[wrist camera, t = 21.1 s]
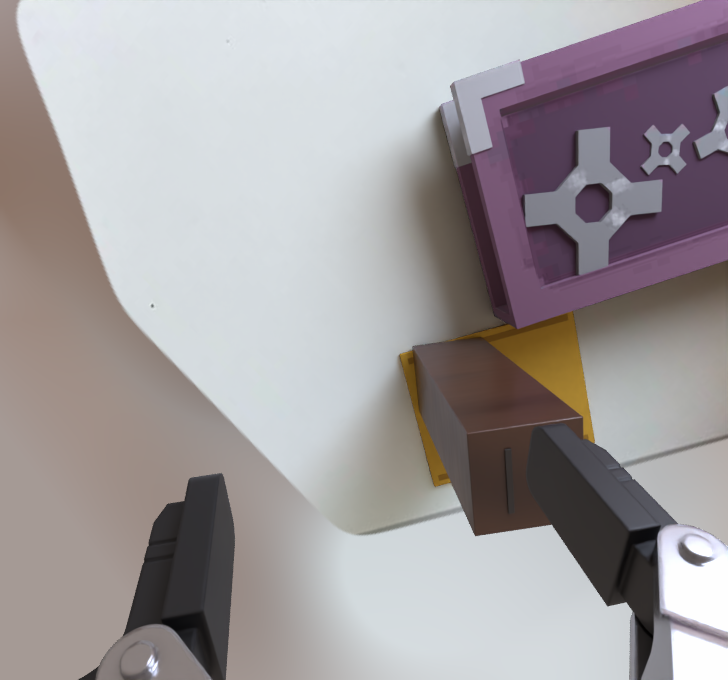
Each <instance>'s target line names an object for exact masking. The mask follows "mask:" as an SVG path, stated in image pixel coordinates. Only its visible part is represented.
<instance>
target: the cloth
mask: <svg viewBox="0 0 728 680" xmlns="http://www.w3.org/2000/svg"><path fill="white" fill-rule="evenodd" d="M475 337H482V338H483V339H485V340H486V341H487V342H489V343H490V344H491V345H492V346H494V347H495V348H496V349H497V350H499V351H500V352H501V353H503V354H504V355H505V356H506V357H508V358H509V359H510V360H511V361H513V362H514V363H515V364H516V365H518V366H519V367H520V368H522V369H523V370H524V371H525V372H527V373H528V374H529V375H530V376H532V377H533V378H534V379H536V380H537V381H538V382H539V383H541V384H542V385H543V386H544V387H546V388H547V389H548V390H550V391H551V392H552V393H553V394H555V395H556V396H557V397H558V398H560V399H561V400H562V401H564V402H565V403H566V404H567V405H569V406H570V407H571V408H572V409H574V410H575V411H576V412H577V413H579V414H580V415H581V416H583V437H584V439H587V440H589V441H591V442H593V443H595V440H594V434H593V428H592V422H591V416H590V410H589V404H588V398H587V392H586V386H585V380H584V374H583V368H582V362H581V356H580V350H579V344H578V338H577V332H576V326H575V320H574V314H573V311H571V312H568V313H565V314H562V315H559V316H556V317H552V318H549V319H546V320H543V321H540V322H537V323H534V324H531V325H528V326H525V327H522V328H519V329H516V328H515V327H513V326H511V325H509V324H506V325H502V326H499V327H495V328H491V329H488V330H484V331H481V332H477V333H474V334H470V335H466V336H463V337H459V338H456V339H452V340H449V341H454V340H461V339H468V338H475ZM445 342H446V341H445ZM400 358H401V362H402V366H403V370H404V374H405V377H406V381H407V385H408V389H409V392H410V396H411V400H412V404H413V408H414V411H415V415H416V419H417V423H418V426H419V430H420V434H421V438H422V442H423V445H424V449H425V453H426V457H427V461H428V464H429V468H430V472H431V476H432V479H433V483H434V486H435V487H436V486H440V485H443V484H447V483H450V482H451V481H450V479H449V477H448V474H447V472H446V470H445V468H444V465H443V463H442V461H441V459H440V456H439V454H438V452H437V450H436V448H435V445H434V443H433V441H432V439H431V436H430V434H429V432H428V430H427V427H426V425H425V423H424V421H423V418H422V416H421V414H420V412H419V406H418V396H417V387H416V377H415V368H414V358H413V351H409V352H406V353H402V354H400Z"/></svg>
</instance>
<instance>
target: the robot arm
mask: <svg viewBox="0 0 728 680" xmlns="http://www.w3.org/2000/svg"><path fill="white" fill-rule="evenodd" d="M526 480H527V485H528V488H529V490H530V493H531V495H532V496H533V498H534V499H535V501H536V502H537V504H538V505H539V507H540V508H541V509H542V511H543V512H544V514H545V515H546V517H547V518H548V520H549V521H550V523H551V524H552V525H553V527H554V528H555V530H556V531H557V533H558V534H559V536H560V537H561V539H562V540H563V542H564V543H565V545H566V546H567V548H568V549H569V551H570V552H571V553H572V555H573V556H574V558H575V559H576V561H577V562H578V564H579V565H580V567H581V568H582V569H583V571H584V573H585V574H586V575H587V577H588V578H589V580H590V581H591V583H592V584H593V586H594V587H595V589H596V590H597V592H598V593H599V594H600V596H601V597H602V599H603V600H604V602H605V603H606V605H607V606H611V605H616V604H620V603H625V602H627V604H628V605H629V607H630V608H631V609H632V611H633V612H632V615H631V620H630V671H629V680H728V547H727V546H726V545H725V544H724V543H723V542H722V541H721V540H719V539H718V538H716V537H715V536H714V535H712V534H710V533H708V532H706V531H704V530H702V529H700V528H696V527H694V526H689V525H684V524H678V523H677V522H676V521H675V520H674V519H673V518H672V517H671V516H670V515H669V514H668V513H667V512H666V511H665V510H664V509H663V508H662V507H661V506H660V505H659V504H658V503H657V502H656V501H655V500H654V499H653V498H652V497H651V496H650V495H649V494H648V493H647V492H646V491H645V490H644V488H643V487H642V486H641V485H639V483H638V482H636V481H635V480H633V479H632V477H631V475H630V474H629V473H628V472H627V471H626V470H625V469H624V468H621V467H620V464H619V463H618V462H617V461H616V460H615V459H614V458H613V457H612V456H611V455H610V454H609V453H608V452H607V451H606V450H605V449H603V448H601V447H599V446H598V445H596V444H594V443H593V442H591V441H589V440H587V439H583V440H581V439H580V438H579V437H578V436H577V435H576V434H575V433H574V432H573V431H572V430H571V429H570V428H569V427H568V426H567V425H566V424H565V423H557V424H550V425H543V426H537V427H534V428H533V430H532V433H531V439H530V446H529V453H528V460H527V466H526ZM234 546H235V534H234V523H233V517H232V513H231V508H230V503H229V499H228V495H227V490H226V485H225V481H224V477H223V474H222V473H219V474H212V475H206V476H199V477H193V478H190V479H189V481H188V486H187V491H186V496H185V501H183V502H177V503H170V504H167V505H166V507H165V508H164V510H163V511H162V512H161V514H160V515H159V516H158V518H157V519H156V520H155V522H154V524H153V528H152V531H151V535H150V539H149V546H148V547H147V551H146V554H145V558H144V563H143V565H142V570H141V573H140V577H139V581H138V585H137V588H136V592H135V596H134V600H133V603H132V607H131V611H130V615H129V618H128V622H127V626H126V629H125V632H124V634H123V637H121V638H120V639H119V640H118V641H117V642H116V643H115V644H114V645H113V646H112V647H111V648H110V649H109V650H108V652H107V653H106V654H105V656H104V657H103V659H102V661H101V663H100V665H99V666H98V667H97V668H96V669H94V670H93V671H92V672H90V673H89V674H87V675H85V676H84V677H82V678H80V679H79V680H226V666H227V651H228V637H229V622H230V607H231V592H232V578H233V563H234V562H233V561H234V548H235V547H234Z"/></svg>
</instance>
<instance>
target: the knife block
mask: <svg viewBox="0 0 728 680" xmlns="http://www.w3.org/2000/svg"><path fill="white" fill-rule="evenodd" d="M412 349H413V358H414V368H415V377H416V387H417V396H418V406H419V412H420V414H421V416H422V418H423V421H424V423H425V425H426V427H427V430H428V432H429V434H430V436H431V439H432V441H433V443H434V445H435V448H436V450H437V452H438V454H439V456H440V459H441V461H442V463H443V465H444V468H445V470H446V472H447V474H448V477H449V479H450V481H451V483H452V486H453V488H454V490H455V492H456V495H457V497H458V499H459V501H460V503H461V506H462V508H463V510H464V512H465V515H466V517H467V519H468V521H469V524H470V526H471V528H472V530H473V533H474V534H475V536H479V535H486V534H492V533H499V532H506V531H513V530H519V529H526V528H532V527H539V526H546V525H552V524H551V523H550V521H549V520H548V518H547V517H546V515H545V514H544V512H543V511H542V509H541V508H540V507H539V505H538V504H537V502H536V501H535V499H534V498H533V496H532V495H531V493H530V490H529V488H528V485H527V480H526V466H527V460H528V453H529V446H530V439H531V433H532V430H533V428H534V427H537V426H543V425H550V424H557V423H565V424H566V425H567V426H568V427H569V428H570V429H571V430H572V431H573V432H574V433H575V434H576V435H577V436H578V437H579V438H580V439H581V440H583V439H584V437H583V416H581V415H580V414H579V413H577V412H576V411H575V410H574V409H572V408H571V407H570V406H569V405H567V404H566V403H565V402H564V401H562V400H561V399H560V398H558V397H557V396H556V395H555V394H553V393H552V392H551V391H550V390H548V389H547V388H546V387H544V386H543V385H542V384H541V383H539V382H538V381H537V380H536V379H534V378H533V377H532V376H530V375H529V374H528V373H527V372H525V371H524V370H523V369H522V368H520V367H519V366H518V365H516V364H515V363H514V362H513V361H511V360H510V359H509V358H508V357H506V356H505V355H504V354H503V353H501V352H500V351H499V350H497V349H496V348H495V347H494V346H492V345H491V344H490V343H489V342H487V341H486V340H485V339H483V338H482V337H475V338H468V339H461V340H454V341H446V342H439V343H432V344H425V345H417V346H413V347H412Z"/></svg>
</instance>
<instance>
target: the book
mask: <svg viewBox="0 0 728 680" xmlns="http://www.w3.org/2000/svg"><path fill="white" fill-rule="evenodd" d="M450 88H451V92H452V95H453V99H454V100H452V101H449V102H446V103H443V104H441V106H440V107H439V109H440V112H441V116H442V120H443V124H444V128H445V132H446V135H447V139H448V143H449V147H450V151H451V155H452V158H453V162H454V166H455V168H456V170H457V174H458V177H459V181H460V185H461V189H462V193H463V197H464V200H465V204H466V208H467V212H468V216H469V220H470V223H471V227H472V231H473V235H474V239H475V243H476V246H477V250H478V254H479V258H480V262H481V266H482V270H483V273H484V277H485V281H486V285H487V289H488V293H489V296H490V300H491V304H492V308H493V312H494V316H496V317H497V318H499V319H501V320H502V321H504V322H506V323H508V324H509V325H511V326H513V327H515V328H516V329H519V328H522V327H525V326H528V325H531V324H534V323H537V322H540V321H543V320H546V319H549V318H552V317H556V316H559V315H562V314H565V313H568V312H571V311H574V310H577V309H580V308H583V307H586V306H589V305H592V304H595V303H598V302H601V301H604V300H607V299H610V298H613V297H617V296H620V295H623V294H626V293H629V292H632V291H635V290H638V289H641V288H644V287H647V286H650V285H653V284H656V283H659V282H662V281H665V280H668V279H671V278H674V277H677V276H681V275H684V274H687V273H690V272H693V271H696V270H699V269H702V268H705V267H708V266H711V265H714V264H717V263H720V262H723V261H726V260H728V0H702V1H699V2H696V3H693V4H691V5H688V6H685V7H682V8H679V9H676V10H673V11H670V12H667V13H664V14H661V15H658V16H655V17H652V18H649V19H646V20H643V21H640V22H637V23H634V24H631V25H629V26H626V27H623V28H620V29H617V30H614V31H611V32H608V33H605V34H602V35H599V36H596V37H593V38H590V39H587V40H584V41H581V42H578V43H575V44H572V45H569V46H566V47H564V48H561V49H558V50H555V51H552V52H549V53H546V54H543V55H540V56H537V57H534V58H531V59H528V60H525V61H522V62H520V60H517V61H514V62H511V63H508V64H505V65H502V66H499V67H496V68H493V69H490V70H487V71H484V72H481V73H478V74H475V75H472V76H469V77H466V78H464V79H461V80H458V81H455V82H453V83H452V85H451V86H450Z"/></svg>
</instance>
